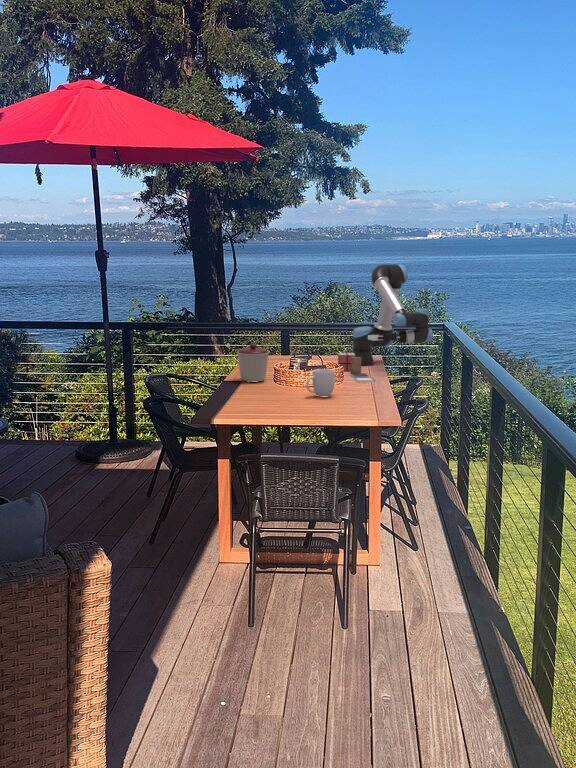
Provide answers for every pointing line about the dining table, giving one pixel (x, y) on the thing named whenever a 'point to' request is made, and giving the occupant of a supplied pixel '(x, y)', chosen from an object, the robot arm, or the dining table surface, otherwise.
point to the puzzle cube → (345, 360)
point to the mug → (322, 382)
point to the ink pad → (358, 375)
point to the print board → (364, 379)
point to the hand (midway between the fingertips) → (369, 337)
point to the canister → (253, 363)
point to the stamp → (355, 365)
